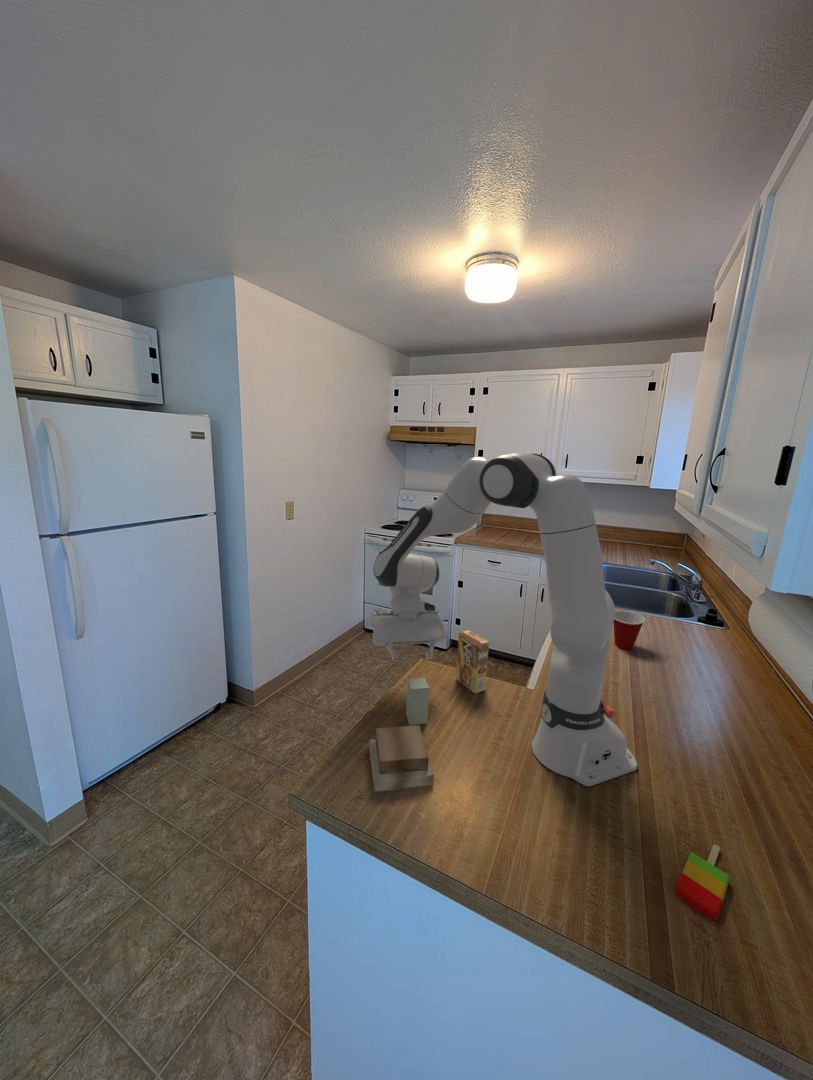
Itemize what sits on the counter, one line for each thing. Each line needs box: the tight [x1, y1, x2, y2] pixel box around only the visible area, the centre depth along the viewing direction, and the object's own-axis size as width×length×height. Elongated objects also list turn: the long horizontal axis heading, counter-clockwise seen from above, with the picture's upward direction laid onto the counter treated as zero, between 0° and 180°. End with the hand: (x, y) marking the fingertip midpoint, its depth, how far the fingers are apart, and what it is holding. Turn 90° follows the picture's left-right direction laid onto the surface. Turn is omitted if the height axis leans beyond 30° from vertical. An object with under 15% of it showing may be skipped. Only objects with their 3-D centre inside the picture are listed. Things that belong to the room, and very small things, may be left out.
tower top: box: [374, 724, 430, 774], centre depth 88 cm, size 10×10×3 cm
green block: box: [405, 677, 430, 726], centre depth 103 cm, size 4×4×10 cm
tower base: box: [368, 738, 435, 793], centre depth 88 cm, size 12×12×3 cm
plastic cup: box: [613, 610, 646, 651], centre depth 147 cm, size 11×11×12 cm
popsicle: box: [675, 843, 731, 921], centre depth 67 cm, size 6×15×2 cm, turn 132°
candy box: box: [455, 629, 490, 695], centre depth 118 cm, size 9×4×15 cm, turn 33°
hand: (412, 659), depth 109 cm, fingers open, 8 cm apart
